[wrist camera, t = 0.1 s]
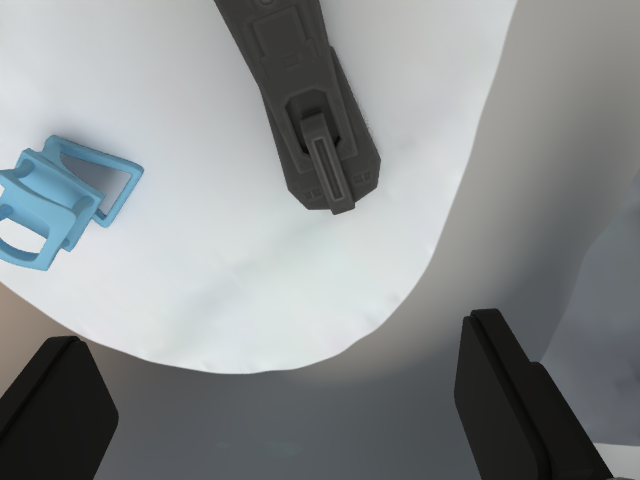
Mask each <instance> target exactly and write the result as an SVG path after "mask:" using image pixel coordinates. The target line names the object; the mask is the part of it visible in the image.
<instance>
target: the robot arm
mask: <svg viewBox="0 0 640 480" xmlns="http://www.w3.org/2000/svg"><path fill="white" fill-rule="evenodd" d="M454 398H455V404H456V408H457V410H458V413H459V416H460V419H461V422H462V425H463V427H464V430H465V433H466V436H467V439H468V442H469V445H470V447H471V450H472V453H473V456H474V459H475V461H476V464H477V467H478V470H479V473H480V476H481V479H482V480H634V479H629V478H622V477H617V478H614V477H613V475H612V473H611V472H610V470H609V469H608V467H607V465H606V464H605V462H604V461H603V459H602V458H601V456H600V454H599V453H598V451H597V450H596V448H595V446H594V445H593V443H592V442H591V440H590V438H589V437H588V435H587V434H586V432H585V430H584V429H583V427H582V426H581V424H580V423H579V421H578V419H577V418H576V416H575V415H574V413H573V411H572V410H571V408H570V407H569V405H568V403H567V402H566V400H565V399H564V397H563V396H562V394H561V392H560V391H559V389H558V388H557V386H556V384H555V383H554V381H553V380H552V378H551V376H550V375H549V373H548V372H547V370H546V369H545V368H544V366H543V365H542V364H540V363H539V362H530V361H529V359H528V358H527V356H526V354H525V353H524V351H523V349H522V348H521V346H520V344H519V343H518V341H517V340H516V338H515V336H514V334H513V333H512V331H511V329H510V328H509V326H508V324H507V323H506V321H505V320H504V318H503V316H502V314H501V313H500V311H499V310H498V309H479V310H472V312H471V315H470V316H466V317H464V319H463V326H462V333H461V341H460V349H459V358H458V365H457V373H456V381H455V389H454ZM118 418H119V416H118V411H117V409H116V407H115V404H114V402H113V400H112V398H111V396H110V394H109V392H108V389H107V387H106V385H105V383H104V381H103V378H102V376H101V374H100V372H99V370H98V368H97V365H96V363H95V361H94V359H93V357H92V355H91V353H90V350H89V348H88V346H87V344H86V343H85V342H83V341H81V340H80V339H79V338H78V337H77V336H59V337H51V338H48V339H47V340H46V341H45V342H44V343H43V345H42V346H41V347H40V348H39V350H38V351H37V352H36V354H35V355H34V356H33V357H32V359H31V360H30V361H29V363H28V364H27V365H26V366H25V368H24V369H23V370H22V372H21V373H20V374H19V375H18V377H17V378H16V379H15V381H14V382H13V383H12V384H11V386H10V387H9V388H8V390H7V391H6V392H5V393H4V395H3V396H2V397H1V399H0V480H93V478H94V476H95V474H96V472H97V470H98V467H99V465H100V463H101V461H102V458H103V456H104V454H105V452H106V450H107V447H108V445H109V443H110V441H111V439H112V437H113V434H114V432H115V430H116V428H117V425H118Z"/></svg>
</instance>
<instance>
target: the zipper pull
mask: <svg viewBox="0 0 640 480" xmlns="http://www.w3.org/2000/svg"><path fill="white" fill-rule="evenodd" d="M214 2H215V3H216V5H217V7H218V9H219V11H220V13H221V15H222V17H223V19H224V21H225V23H226V25H227V27H228V28H229V30H230V32H231V34H232V36H233V38H234V40H235V42H236V44H237V46H238V48H239V50H240V52H241V53H242V55H243V57H244V59H245V61H246V63H247V65H248V67H249V69H250V71H251V73H252V75H253V77H254V78H255V80H256V82H257V84H258V86H259V88H260V91H261V95H262V98H263V102H264V105H265V109H266V112H267V116H268V119H269V123H270V126H271V130H272V133H273V137H274V140H275V144H276V147H277V151H278V154H279V158H280V161H281V165H282V168H283V172H284V176H285V180H286V183H287V187H288V190H289V191H290V192H291V193H292V194H293V195H294V196H295V197H296V198H297V199H298V200H299V201H300V202H301V203H302V204H303V205H304V206H305V207H306V208H307V209H308V210H326V209H331V211H332V213H333V215H336V214H340V213H343V212H346V211H349V210H352V209H354V208H355V202H357V201H358V200H360V199H361V198H363V197H364V196H365V195H367V194H368V193H370V192H371V191H373V190H374V189H375V188H377V184H378V177H379V170H380V162H381V159H380V157H379V154H378V152H377V150H376V147H375V145H374V143H373V141H372V138H371V136H370V134H369V132H368V129H367V127H366V125H365V122H364V120H363V117H362V115H361V113H360V110H359V108H358V105H357V103H356V101H355V98H354V96H353V94H352V91H351V89H350V86H349V84H348V82H347V79H346V77H345V74H344V72H343V70H342V67H341V65H340V63H339V60H338V58H337V55H336V53H335V51H334V49H333V47H331V46H329V42H328V38H327V33H326V29H325V25H324V20H323V16H322V11H321V7H320V2H319V0H214Z"/></svg>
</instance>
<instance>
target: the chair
mask: <svg viewBox="0 0 640 480" xmlns="http://www.w3.org/2000/svg"><path fill="white" fill-rule="evenodd" d="M60 153H62V154H65V155H68V156H71V157H75V158H78V159H81V160H85V161H89V162H92V163H96V164H99V165H103V166H107V167H110V168H114V169H118V170H121V171H125V172H128V173H130V174H132V178H131V179H130V181H129V182H128V184H127V185H126V187H125V188H124V190H123V191H122V193H121V195H120V196H119V198H118V199H117V201H116V202H115V204H114V205H113V207H112V208H111V210H110V211H109V213H108V215H107V216H105V215H104V214H103V213H102V212H101V211H100V210H99V209H98V207H99V206H100V204H101V202H102V201H103V199H104V198H105V196H106V195H105V194H103V193H102V192H100V191H98V190H97V189H95V188H93V187H92V186H90V185H88V184H86V183H84V182H83V181H82V180H80V179H79V178H78V177H76V176H75V175H74V174H73V173H71V172H70V171H69V170H68V169H67V168H66V167H65V166H64V165H63V164H62V161H61V156H60ZM142 174H143V168H142V167H141V166H139V165H137V164H134V163H132V162H129V161H126V160H123V159H120V158H117V157H114V156H111V155H108V154H105V153H102V152H98V151H95V150H92V149H89V148H86V147H83V146H80V145H77V144H74V143H72V142H69V141H66V140H64V139H62V138H59V137H57V136H50V137H49V138H48V139H47V140H46V142H45V146H44V149H43V151H42V152H35V151H33V150H32V149H30V148H28V149H26V150H24V151H22V153H21V155H20V157H19V160H18V162H17V164H16V166H15V168H14V169H8V170H0V184H1V185H2V186H3V187H4V188H5V190H4V192H3V194H2V196H1V197H0V221H1V220H3V219H5V218H9V219H10V220H12V221H14V222H17V223H19V224H21V225H23V226H25V227H27V228H28V229H30V230H32V231H34V232H36V233H37V234H39V235H41V236H43V237H44V238H46V239H47V240H46V242H45V244H44V246H43V248H42V249H41V251H40V253H30V252H25V251H22V250H18V249H16V248H14V247H12V246H10V245H9V244H7V243H6V242H4V241H3V240H2V239H1V238H0V259H2V260H4V261H6V262H8V263H11V264H14V265H18V266H22V267H27V268H32V269H37V270H42V271H47V270H48V269H49V267H50V265H51V264H52V262H53V260H54V258H55V256H56V254H57V253H58V251H59V250H60V249H61V248H63V249H64V250H66V251H68V252H70V251H71V250H72V249H73V248H74V247H75V245H76V244H77V242H78V240H79V239H80V237H81V235H82V234H83V232H84V230H85V228H86V227H87V225H88V223H89V222H90V220H91V218H92V219H93V220H94V221H95V222H97V223H98V224H99V225H100V226H102V227H104V228H107V227H109V225H110V224H111V223H112V221H113V220H114V218H115V217H116V215H117V213H118V212H119V210H120V209H121V207H122V205H123V204H124V202H125V201H126V199H127V197H128V196H129V194H130V193H131V191H132V190H133V188H134V186H135V185H136V183H137V182H138V180H139V178H140V177H141V175H142Z"/></svg>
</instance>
